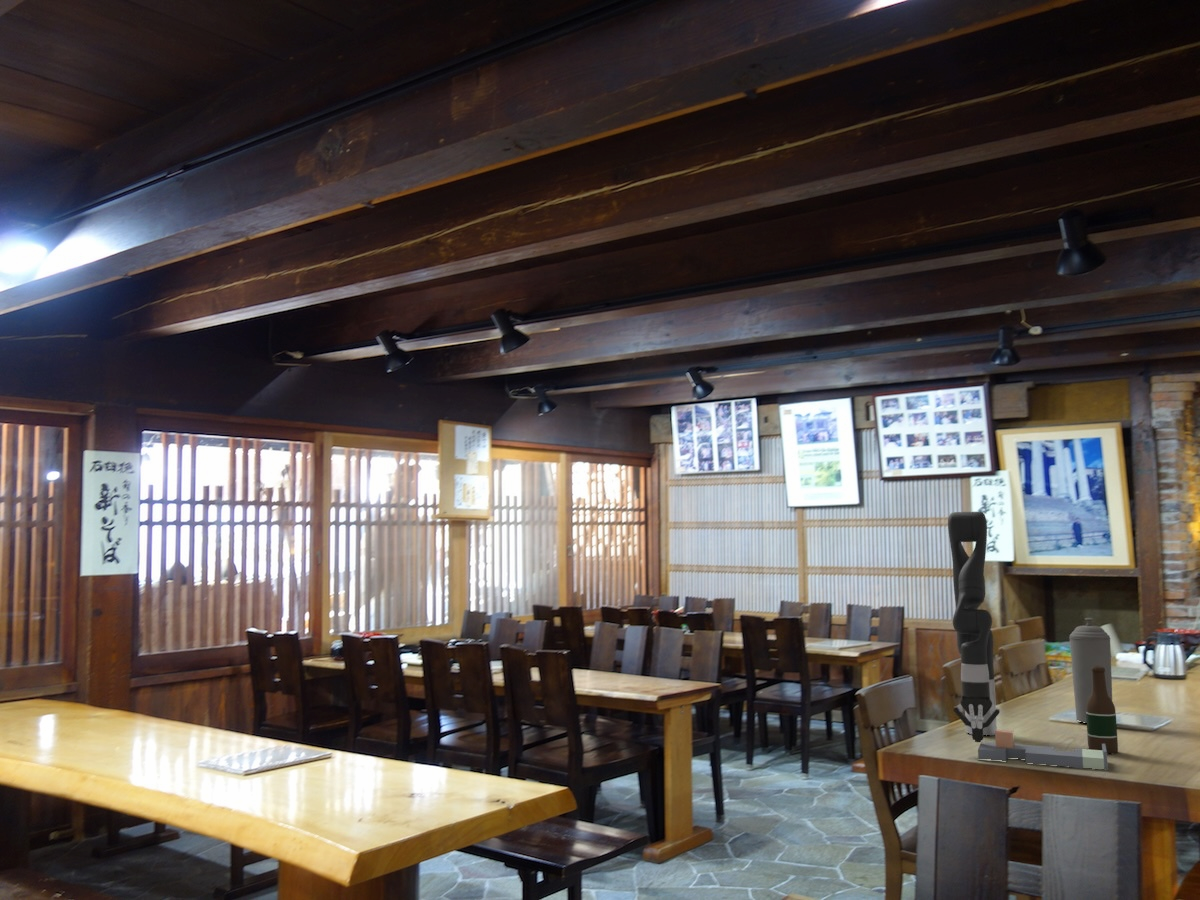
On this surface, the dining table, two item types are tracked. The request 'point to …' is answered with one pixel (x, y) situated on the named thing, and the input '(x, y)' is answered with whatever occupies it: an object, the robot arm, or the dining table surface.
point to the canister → (1088, 662)
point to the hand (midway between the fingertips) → (978, 741)
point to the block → (1004, 738)
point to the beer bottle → (1101, 715)
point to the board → (1046, 755)
